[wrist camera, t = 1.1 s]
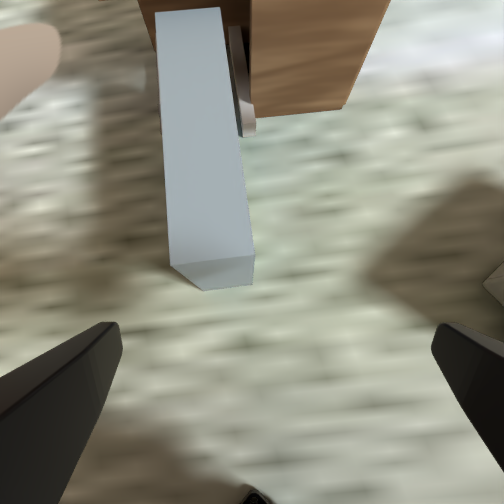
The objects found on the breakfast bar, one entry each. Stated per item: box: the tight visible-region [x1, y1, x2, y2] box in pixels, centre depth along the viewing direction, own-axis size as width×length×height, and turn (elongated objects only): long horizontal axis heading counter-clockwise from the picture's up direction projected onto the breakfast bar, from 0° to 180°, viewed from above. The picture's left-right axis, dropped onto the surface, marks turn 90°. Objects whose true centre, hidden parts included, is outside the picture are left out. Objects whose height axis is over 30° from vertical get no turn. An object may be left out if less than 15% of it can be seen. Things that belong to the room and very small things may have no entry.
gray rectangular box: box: [155, 7, 255, 291], centre depth 20 cm, size 16×5×10 cm, turn 8°
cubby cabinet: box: [99, 0, 391, 137], centre depth 22 cm, size 14×18×12 cm
